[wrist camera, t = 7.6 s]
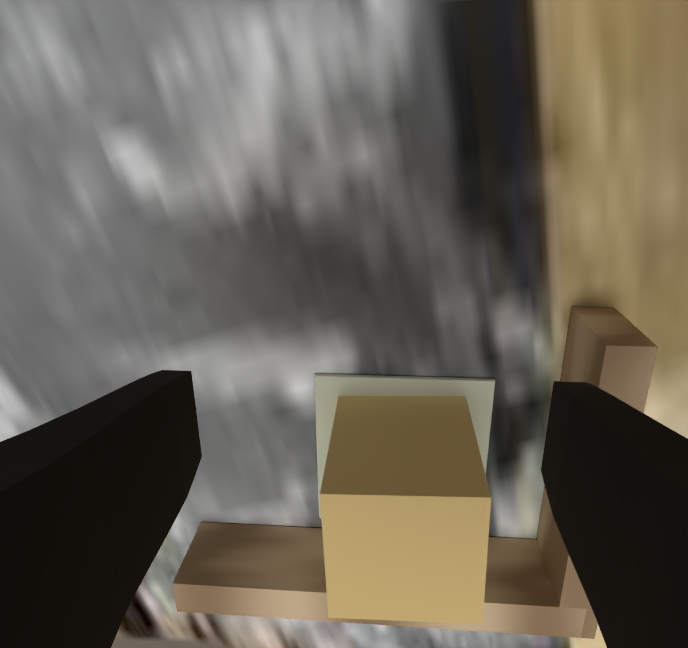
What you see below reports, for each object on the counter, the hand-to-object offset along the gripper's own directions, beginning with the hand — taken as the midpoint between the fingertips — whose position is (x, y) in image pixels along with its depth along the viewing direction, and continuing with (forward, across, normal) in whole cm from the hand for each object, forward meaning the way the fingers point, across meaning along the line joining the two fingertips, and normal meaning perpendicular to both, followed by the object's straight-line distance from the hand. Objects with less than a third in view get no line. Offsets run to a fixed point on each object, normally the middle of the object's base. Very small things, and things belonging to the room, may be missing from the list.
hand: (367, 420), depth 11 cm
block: (+10, -1, +7) cm, 12 cm away
